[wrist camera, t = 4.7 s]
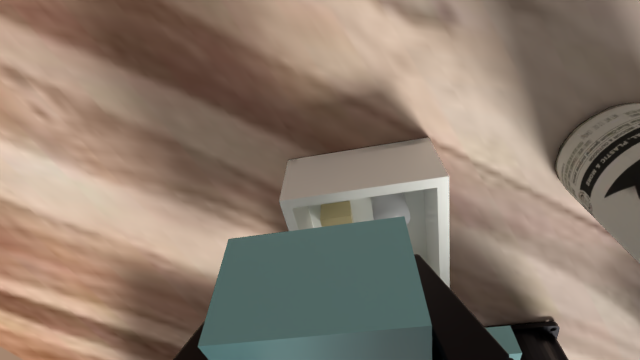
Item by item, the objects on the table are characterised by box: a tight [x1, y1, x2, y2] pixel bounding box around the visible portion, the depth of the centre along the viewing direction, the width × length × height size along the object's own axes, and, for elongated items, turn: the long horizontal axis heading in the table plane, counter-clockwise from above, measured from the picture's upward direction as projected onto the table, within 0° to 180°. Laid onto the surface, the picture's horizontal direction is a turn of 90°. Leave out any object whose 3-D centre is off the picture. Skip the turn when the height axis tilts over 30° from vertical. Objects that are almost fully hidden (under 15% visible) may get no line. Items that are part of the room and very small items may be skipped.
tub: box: [279, 137, 450, 288], centre depth 24 cm, size 14×9×4 cm, turn 11°
